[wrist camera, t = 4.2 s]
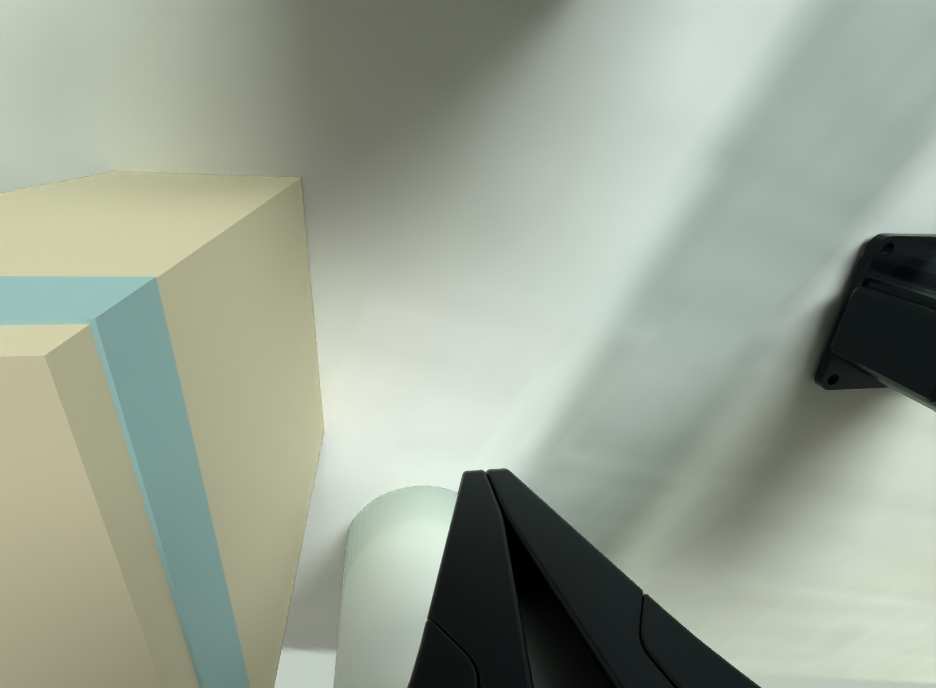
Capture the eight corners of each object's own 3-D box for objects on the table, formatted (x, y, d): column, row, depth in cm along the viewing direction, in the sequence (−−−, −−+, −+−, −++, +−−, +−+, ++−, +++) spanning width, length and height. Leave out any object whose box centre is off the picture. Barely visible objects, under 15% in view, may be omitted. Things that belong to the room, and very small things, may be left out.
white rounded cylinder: (488, 480, 20) (525, 611, 15) (479, 580, 23) (509, 721, 17) (342, 490, 19) (326, 633, 14) (350, 593, 22) (339, 747, 16)
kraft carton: (302, 175, 14) (49, 349, 3) (325, 430, 18) (239, 889, 7) (112, 169, 13) (-986, 369, 3) (178, 437, 17) (-165, 967, 6)
